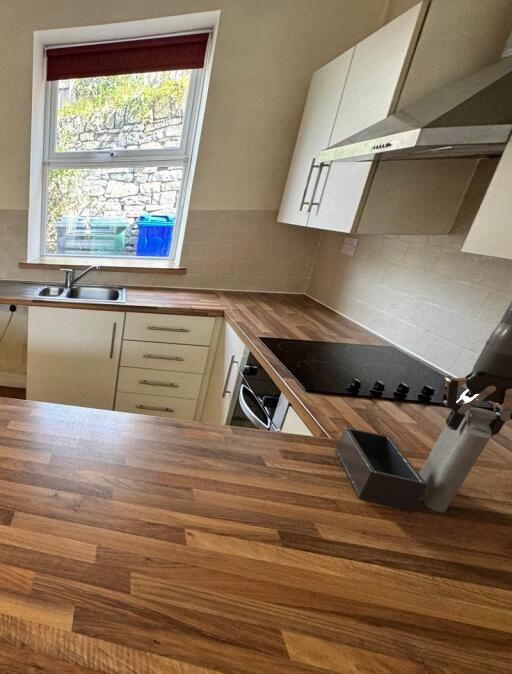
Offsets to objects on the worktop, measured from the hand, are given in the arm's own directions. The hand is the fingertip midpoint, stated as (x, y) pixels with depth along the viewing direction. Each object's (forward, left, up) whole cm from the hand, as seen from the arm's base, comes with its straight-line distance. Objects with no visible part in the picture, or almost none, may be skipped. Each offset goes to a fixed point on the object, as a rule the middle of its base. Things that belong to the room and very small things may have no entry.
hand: (469, 431), depth 80 cm
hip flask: (0, 0, -16) cm, 16 cm away
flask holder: (+11, 0, -15) cm, 19 cm away
